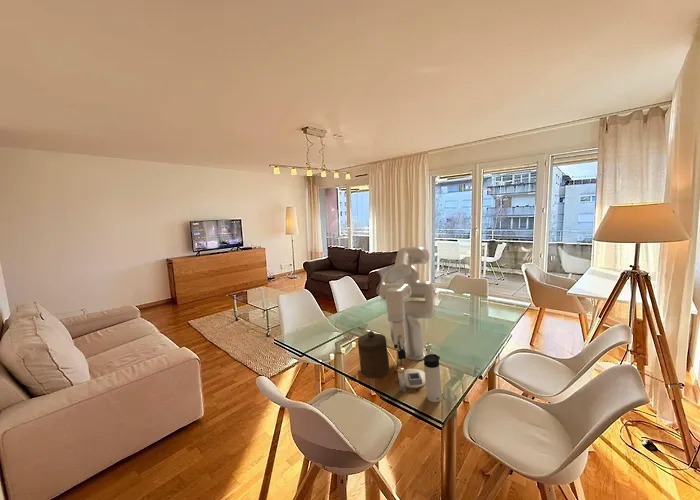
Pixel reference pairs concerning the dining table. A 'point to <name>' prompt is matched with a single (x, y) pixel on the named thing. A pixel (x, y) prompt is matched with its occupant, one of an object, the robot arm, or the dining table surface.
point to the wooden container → (373, 355)
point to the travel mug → (433, 377)
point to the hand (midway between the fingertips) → (399, 353)
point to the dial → (414, 378)
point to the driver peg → (402, 378)
